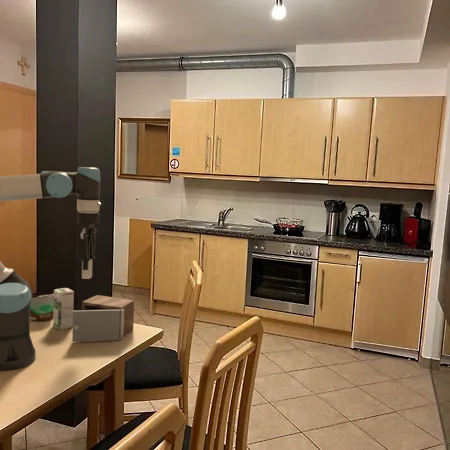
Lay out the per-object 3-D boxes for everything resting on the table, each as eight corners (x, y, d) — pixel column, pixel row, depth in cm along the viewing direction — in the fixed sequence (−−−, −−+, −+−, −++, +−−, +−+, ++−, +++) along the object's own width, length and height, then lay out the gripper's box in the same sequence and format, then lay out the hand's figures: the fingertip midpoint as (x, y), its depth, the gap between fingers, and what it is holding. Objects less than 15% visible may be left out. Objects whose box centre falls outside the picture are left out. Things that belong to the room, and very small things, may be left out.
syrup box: (52, 326, 173) (53, 289, 172) (67, 323, 177) (68, 287, 176) (58, 330, 169) (59, 292, 168) (73, 327, 173) (74, 290, 172)
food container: (34, 325, 173) (35, 299, 172) (26, 321, 177) (26, 296, 176) (63, 318, 183) (63, 294, 182) (54, 314, 187) (55, 290, 186)
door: (123, 338, 163) (124, 309, 162) (123, 341, 161) (124, 311, 160) (72, 340, 159) (73, 310, 158) (72, 343, 157) (72, 312, 156)
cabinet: (81, 333, 168) (82, 301, 166) (96, 324, 178) (96, 295, 176) (120, 339, 164) (121, 307, 162) (133, 330, 173) (134, 300, 172)
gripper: (92, 214, 150) (91, 283, 153) (104, 210, 165) (103, 273, 168) (70, 213, 150) (69, 282, 153) (84, 209, 165) (83, 272, 168)
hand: (86, 277), depth 160 cm, fingers closed
